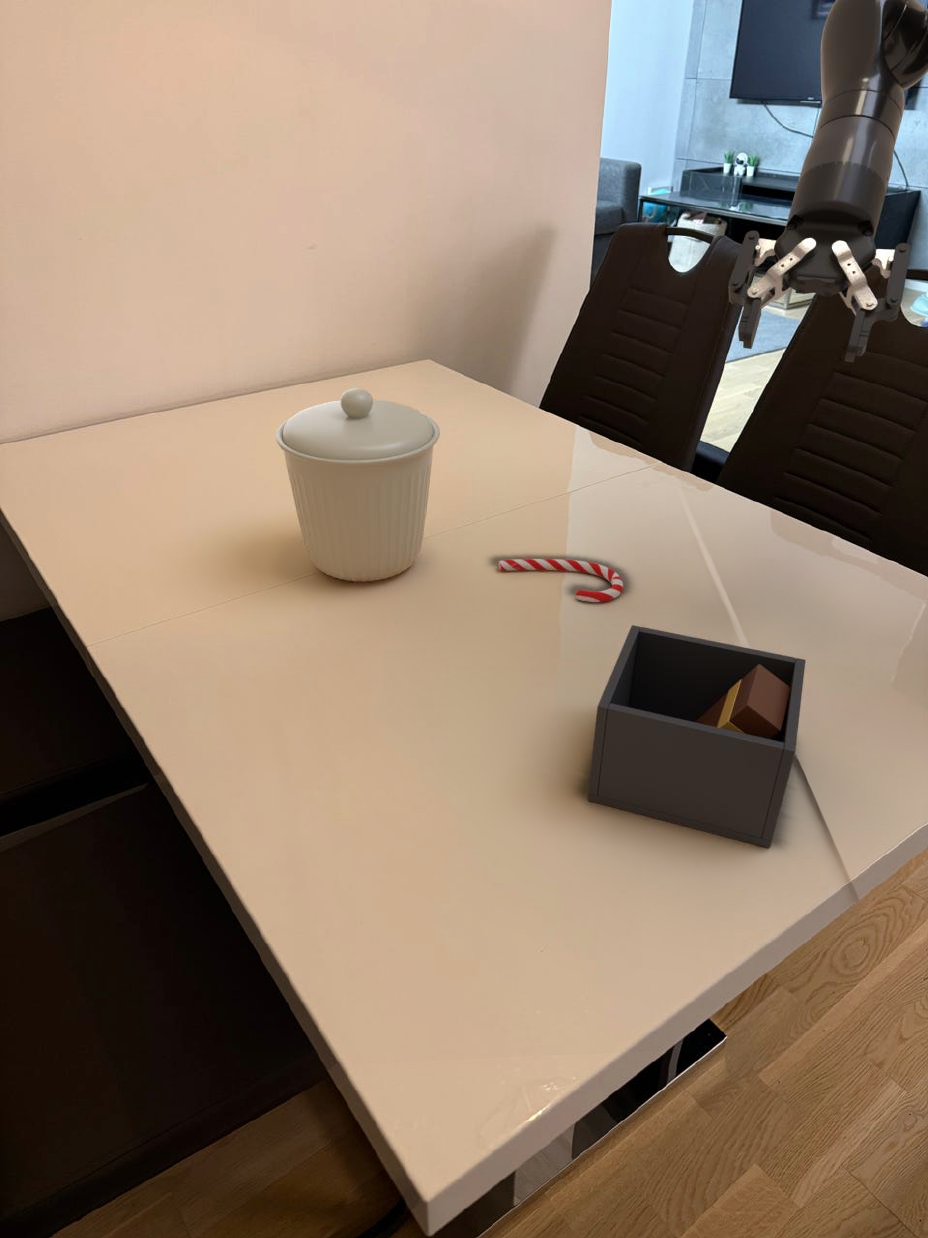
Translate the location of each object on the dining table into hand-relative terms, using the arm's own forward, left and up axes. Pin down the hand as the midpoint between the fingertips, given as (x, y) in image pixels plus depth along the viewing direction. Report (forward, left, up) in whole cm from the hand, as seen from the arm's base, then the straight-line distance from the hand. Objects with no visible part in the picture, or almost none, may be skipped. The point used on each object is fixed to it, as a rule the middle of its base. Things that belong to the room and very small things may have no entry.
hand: (797, 350), depth 79 cm
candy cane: (+18, -13, -31) cm, 38 cm away
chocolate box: (+8, +20, -29) cm, 36 cm away
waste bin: (+9, +20, -31) cm, 38 cm away
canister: (+41, -17, -31) cm, 54 cm away
